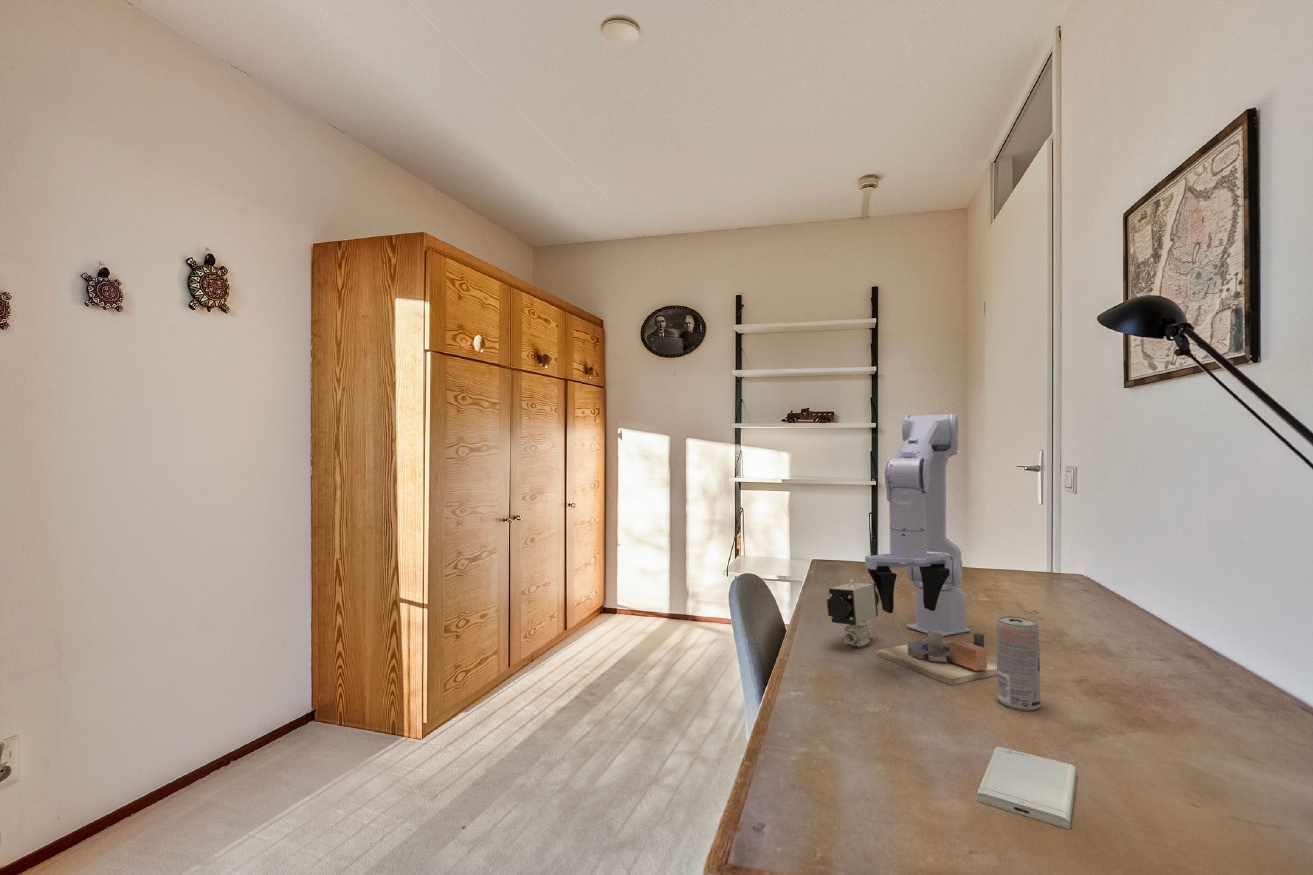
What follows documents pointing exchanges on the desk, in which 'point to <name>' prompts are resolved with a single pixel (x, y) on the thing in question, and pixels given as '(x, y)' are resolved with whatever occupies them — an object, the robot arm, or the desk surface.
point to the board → (936, 669)
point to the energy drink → (1018, 663)
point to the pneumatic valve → (853, 609)
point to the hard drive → (1029, 786)
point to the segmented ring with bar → (952, 653)
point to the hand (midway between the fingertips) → (908, 610)
